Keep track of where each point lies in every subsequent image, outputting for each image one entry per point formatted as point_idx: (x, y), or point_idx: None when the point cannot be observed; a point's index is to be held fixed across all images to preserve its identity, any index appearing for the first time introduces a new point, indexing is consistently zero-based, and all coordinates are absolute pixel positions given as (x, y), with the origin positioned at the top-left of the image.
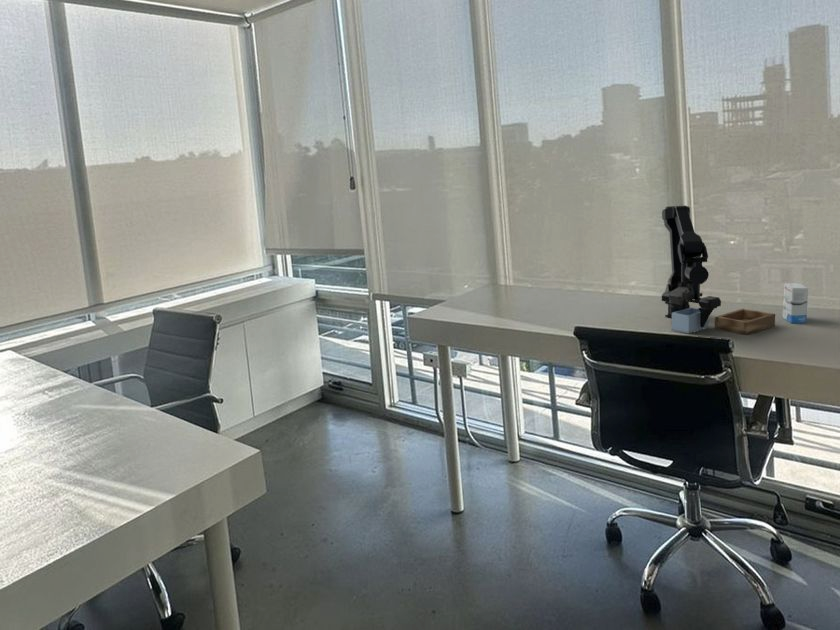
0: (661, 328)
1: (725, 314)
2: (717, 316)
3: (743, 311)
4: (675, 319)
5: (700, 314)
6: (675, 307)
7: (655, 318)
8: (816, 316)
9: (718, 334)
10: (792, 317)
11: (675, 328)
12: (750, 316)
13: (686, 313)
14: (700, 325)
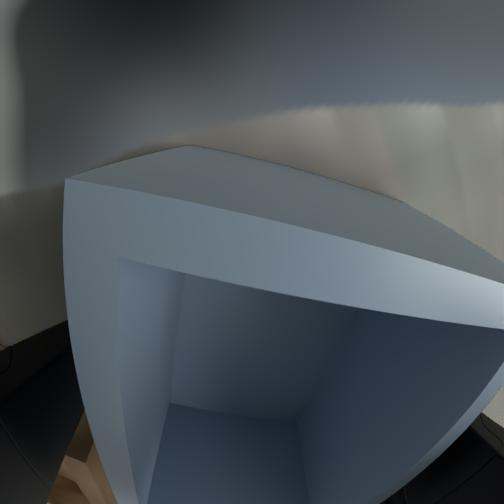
0: (482, 233)
1: (92, 494)
2: (83, 469)
3: None
4: (441, 235)
5: (9, 394)
6: (488, 471)
7: (494, 399)
8: None
9: (10, 270)
10: None
11: (375, 194)
12: (82, 496)
13: (343, 472)
14: None
